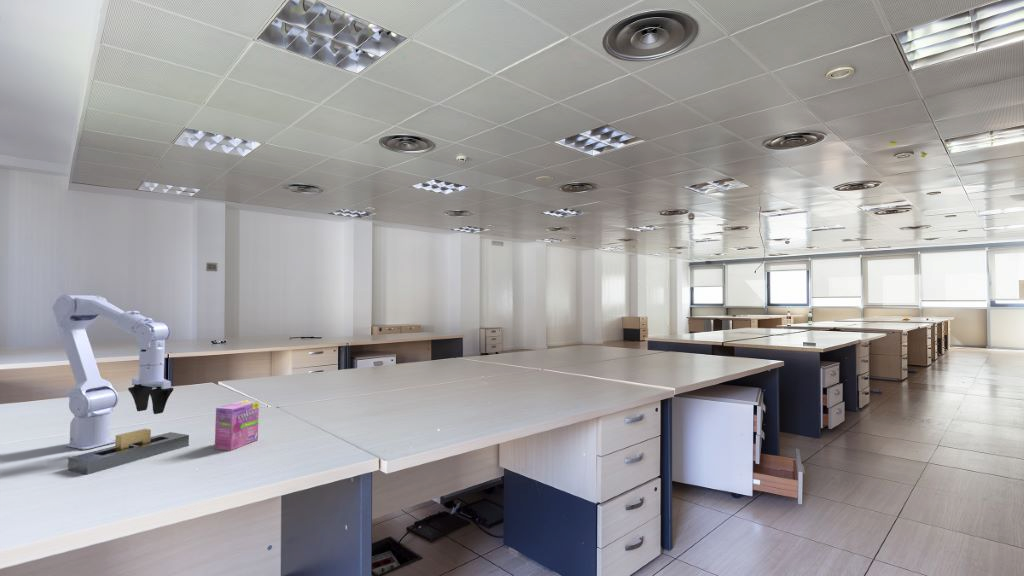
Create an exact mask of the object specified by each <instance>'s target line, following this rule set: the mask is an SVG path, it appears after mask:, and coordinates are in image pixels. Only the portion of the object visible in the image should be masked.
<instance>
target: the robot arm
mask: <svg viewBox="0 0 1024 576" xmlns="http://www.w3.org/2000/svg"><path fill="white" fill-rule="evenodd" d="M52 311H53V314H54V316H55V321H56V323H57V326H58V331H59V333H60V337H61V340H62V343H63V346H64V350H65V352H66V353H65V354H66V356H67V358H68V362H69V365H70V368H71V371H72V375H73V377H74V380H75V381H74V382H75V383H76V384H75V386H73V388H72V389H71V390H70V391H69V392H68V393H67V394H68V398H69V399H68V400H69V402H68V409H69V410H70V412H71V413H72V414H73V416H74V417H73V418H72V419H71V421H70V425H69V443H65V446H66V447H69V448H74V449H79V450H85V451H86V450H89V449H93V448H97V447H102V446H106V445H110V444H114V443H115V441H116V439H111V436H110V435H111V412H113V411H114V408H116V406H118V403H119V399H120V398H119V397H120V396H119V393H118V391H116V389H115V388H114V387H113V384H112V383H111V382H110V381H108V380H106V379H104V378H102V377H101V374H100V370H99V367H98V364H97V361H96V358H95V355H94V352H93V348H92V345H91V343H90V339H89V337H88V334H87V330H86V329H87V327H88V326H90V325H92V323H94V322H95V321H96V320H97V318H98V317H100V316H101V317H103V318H106V319H108V320H111V321H113V322H116V323H115V324H116V326H117V328H118V329H120V330H122V331H124V332H126V333H128V334H129V335H132V336H134V339H135V341H136V342H137V348H138V351H139V354H138V355H139V356H138V377H133V378H131V385H132V386H130V387H128V388H127V389H128V392H129V393H130V394H131V396H132V398H133V401H134V404H135V408H136V411H137V412H142V411H147V409H148V406H149V399H151V403H152V413H153V415H158V414H163V413H164V411H165V407H166V404H167V402H168V399H169V397H170V396H171V394H172V393H173V391H174V387H172V381H170V380H168V379H166V378H165V376H164V375H165V351H166V350H165V348H166V347H165V346H166V341H167V340H168V339H169V338H170V337H171V331H172V330H171V328H170V326H169V324H167V323H166V322H164V321H158V322H155V321H154V320H153V318H151V317H146V316H144V315H141V314H140V313H141V311H138V310H128V311H124V310H123V309H121V308H119V307H118V306H116V305H114V304H112V303H111V302H109V301H107V298H105V297H102V296H101V295H98V294H93V295H77V294H76V295H75V294H73V295H70V294H62V295H60V296H58V297H57V299H56V300H55V302H54V303H53V305H52Z"/></svg>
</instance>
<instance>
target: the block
mask: <svg viewBox="0 0 1024 576" xmlns="http://www.w3.org/2000/svg"><path fill="white" fill-rule="evenodd" d="M189 441H190V435H189V434H184V433H179V432H174V431H173V432H172V431H170V432H167V433H162V434H157V435H153V436H151V439H150V443H149V444H145V445H141V446H138V445H137V444H138V442H135V443H131V444H129V449H126V450H122V451H118V452H115V445H114V446H110V447H105V448H101V449H98V450H94V451H89V452H85V453H82V454H77V455H73V456H69V457H68V462H67V471H72V472H77V473H80V474H84V475H90V474H93V473H97V472H101V471H105V470H108V469H112V468H115V467H119V466H122V465H125V464H130V463H132V462H133V463H134V462H136V461H140V460H143V459H146V458H150V457H153V456H157V455H161V454H164V453H168V452H171V451H175V450H177V449H182V448H184V447H188V446H189V445H190V443H189Z"/></svg>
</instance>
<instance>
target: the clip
mask: <svg viewBox="0 0 1024 576" xmlns="http://www.w3.org/2000/svg"><path fill="white" fill-rule="evenodd" d="M151 433H152V430H151V429H150V428H149V429H148V428H143V429H137V430H134V431H129V432H125V433H120V434H116V435H115V440H116V441H115V445H114V446H115V452H118V451H122V450H126V449H129V444H131V443H135V442H138V444H137V445H138V446H141V445H145V444H149V443H150V439H151V437H152V435H151Z"/></svg>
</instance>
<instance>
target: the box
mask: <svg viewBox="0 0 1024 576" xmlns="http://www.w3.org/2000/svg"><path fill="white" fill-rule="evenodd" d="M259 409H260V401H259V400H248V399H245V400H243V399H242V400H241V401H237V402H236V401H235V402H233V403H230V404H226V405H222V406H219V407H216V408H215V423H214V425H215V429H214V431H215V432H214V433H215V434H214V450H218V451H228V452H229V451H233V450H236V449H239V448H241V447H244V446H245V445H247V444H248V445H249V444H251V443H253V442H256V441H258V439H259Z"/></svg>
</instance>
